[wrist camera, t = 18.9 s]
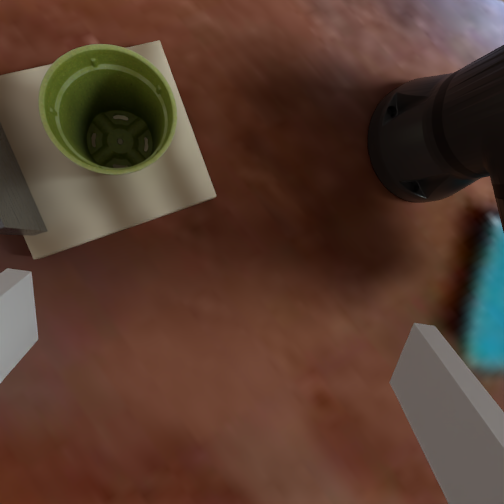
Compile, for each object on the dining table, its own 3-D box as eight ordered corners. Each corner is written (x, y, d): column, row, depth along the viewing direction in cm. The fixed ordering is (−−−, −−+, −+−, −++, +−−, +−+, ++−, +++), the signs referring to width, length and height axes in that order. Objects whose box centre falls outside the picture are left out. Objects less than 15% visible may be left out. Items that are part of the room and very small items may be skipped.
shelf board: (159, 53, 37) (159, 40, 35) (212, 198, 39) (216, 196, 37) (-30, 96, 33) (-44, 85, 30) (41, 258, 35) (33, 259, 32)
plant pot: (64, 87, 33) (35, 34, 24) (169, 96, 35) (175, 52, 27) (68, 189, 33) (40, 172, 25) (172, 191, 36) (178, 176, 27)
